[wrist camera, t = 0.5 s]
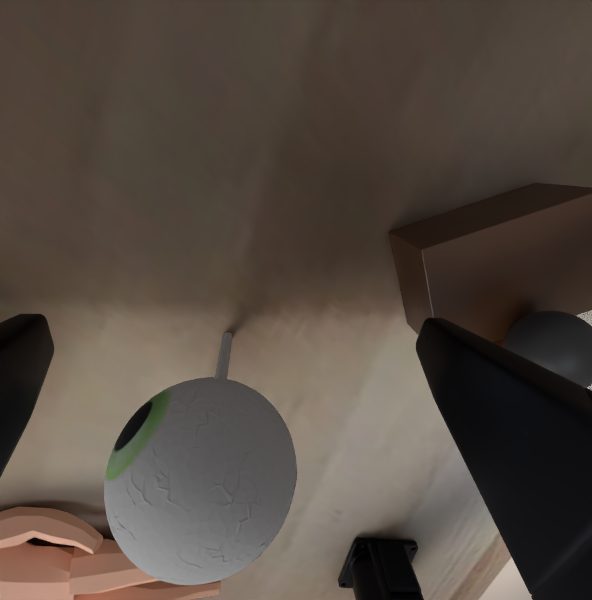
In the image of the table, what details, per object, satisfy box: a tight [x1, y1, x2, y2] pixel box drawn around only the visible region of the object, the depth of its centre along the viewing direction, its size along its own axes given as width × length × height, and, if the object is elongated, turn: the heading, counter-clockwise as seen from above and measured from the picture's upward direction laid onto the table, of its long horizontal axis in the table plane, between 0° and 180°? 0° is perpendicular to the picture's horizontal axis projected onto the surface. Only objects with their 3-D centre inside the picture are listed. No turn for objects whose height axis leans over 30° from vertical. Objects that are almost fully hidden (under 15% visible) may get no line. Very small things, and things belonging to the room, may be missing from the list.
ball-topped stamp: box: [493, 311, 592, 388], centre depth 22 cm, size 8×4×10 cm, turn 17°
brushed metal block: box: [389, 183, 592, 342], centre depth 22 cm, size 7×10×5 cm
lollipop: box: [104, 332, 297, 585], centre depth 18 cm, size 7×7×15 cm
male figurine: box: [0, 506, 221, 600], centre depth 29 cm, size 11×5×25 cm
